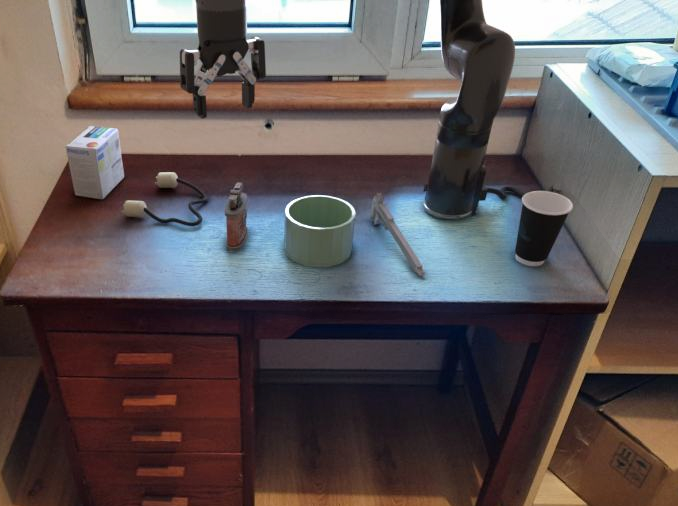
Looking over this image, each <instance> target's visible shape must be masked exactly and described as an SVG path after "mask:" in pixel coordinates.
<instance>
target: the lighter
mask: <svg viewBox="0 0 678 506" xmlns="http://www.w3.org/2000/svg"><path fill="white" fill-rule="evenodd" d="M243 189H244V185H243V183H242V182H236V183H235V185H234V187H233V189H230V191H229V195H228V197H229V198H228V200H227V201H226V204H225V206H224V216H225V219H226V241H225V248H226V250H227V251H229V252H238V251H240V250H241V249H242V248H243V247H244V246H245V244H246V242H247V239H248V226H247V217H248V209H247V205H248V194H247V193H244V192H243Z"/></svg>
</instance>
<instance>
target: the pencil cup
mask: <svg viewBox="0 0 678 506" xmlns="http://www.w3.org/2000/svg"><path fill="white" fill-rule="evenodd" d="M356 215H357V211H356V210H355V208H354V206H353V205H352V204H351V203H350V202H348V201H347V200H344V199H342V198H340V197H336V196H331V195H323V194H322V195H321V194H314V195H306V196H302V197H297V198H296V199H294V200H291V201H290V202H289V203H288V204H287V205H286V206H285V210H284V232H283V250H284V253H285V254H286V256H287V257H288V258H289V259H290V260H291V261H293V262H295V263H297V264H299V265H302V266H306V267H310V268H329V267H330V268H331V267H335V266H338V265H340V264H343V263H344V262H346V261H347V260H348V259H349V258H350V257H351V255H352V251H353V242H354V234H355V233H354V232H355V225H356Z"/></svg>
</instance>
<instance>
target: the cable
mask: <svg viewBox="0 0 678 506" xmlns="http://www.w3.org/2000/svg"><path fill="white" fill-rule="evenodd" d="M155 179H156V181H155V182H154V185H155V186H158V188H160V189H175V188H176V187H177V186H178V183H180V184H183V185H184V186H187V187H189V188H191V189H193V190H194V191H196V192H197V193H198V194H199V195H201V197H202V198H201V199H196V200H191V201H189V202H188V203H187V208H188V209H189V212H191V213H192V214H194V215H195V217H197V220H195V221H193V222H192V221H191V222H190V221H186V220H182V219H179V218H176V217H170V218H167V219H166V218H161V217H158V216H157V215H156V214H154V213H153V212H152V211H150V210H149V209H148V207H147V204H146V202H145V201H144V200H130V199H127V200H125V202H124V204H123V205H122V207H123V210H121V213H122V214H124V215H125V216H126V217H130V218H132V217H133V218H144V217H145V216H146V215H148V216H149V217H150V218H152V219H153V220H155V221H157V222H159V223H161V224H169V223H177V224H180V225H183V226H187V227H196V226H199V225H200V224H201V223H202V222H203V217H202V214H200V213H199V211H197V210H196V209H195V208H194V207H193V205H199V204H203V203H206V202H207V201H208V196H207V195H206V193H205V192H204V191H203V190H202V189H201V188H199V187H197V186H196V185H195V184H193V183H191V182H189V181H186V180H184V179H181V178H179V177H178V175H177V173H176V172H173V171H172V172H171V171H167V172H166V171H165V172H158V173H157V176H155Z"/></svg>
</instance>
